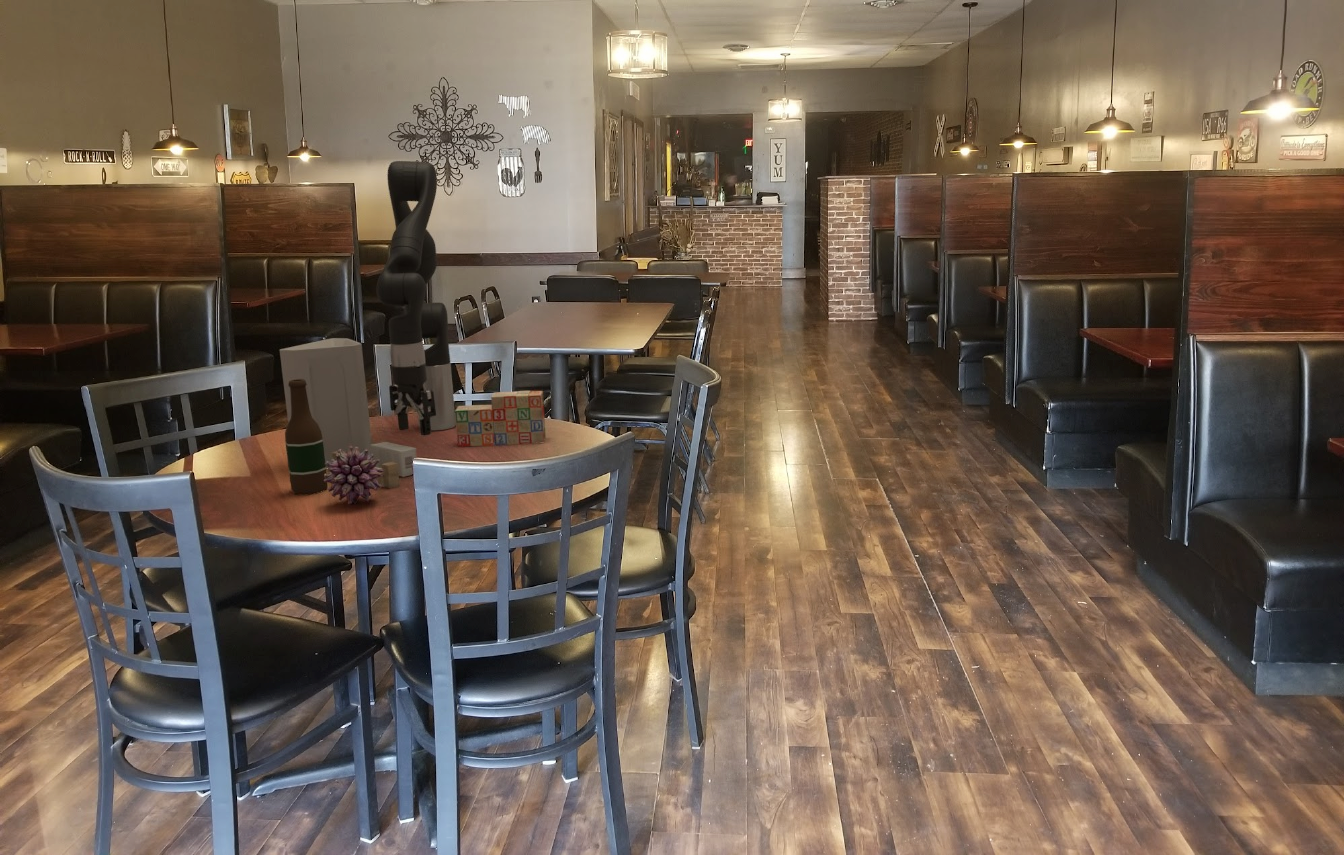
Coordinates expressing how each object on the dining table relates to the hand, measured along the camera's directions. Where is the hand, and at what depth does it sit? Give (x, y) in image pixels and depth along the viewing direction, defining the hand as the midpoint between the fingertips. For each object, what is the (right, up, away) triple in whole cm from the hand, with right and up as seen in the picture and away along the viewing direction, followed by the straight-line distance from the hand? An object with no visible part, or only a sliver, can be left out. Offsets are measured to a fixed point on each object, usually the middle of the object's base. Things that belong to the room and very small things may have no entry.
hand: (415, 432), depth 251 cm
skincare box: (+1, -7, -7) cm, 10 cm away
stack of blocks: (+17, -3, +23) cm, 28 cm away
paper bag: (-19, -7, +10) cm, 22 cm away
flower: (-6, -15, -27) cm, 31 cm away
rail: (-9, -10, -9) cm, 16 cm away
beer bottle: (-19, -13, -15) cm, 27 cm away
